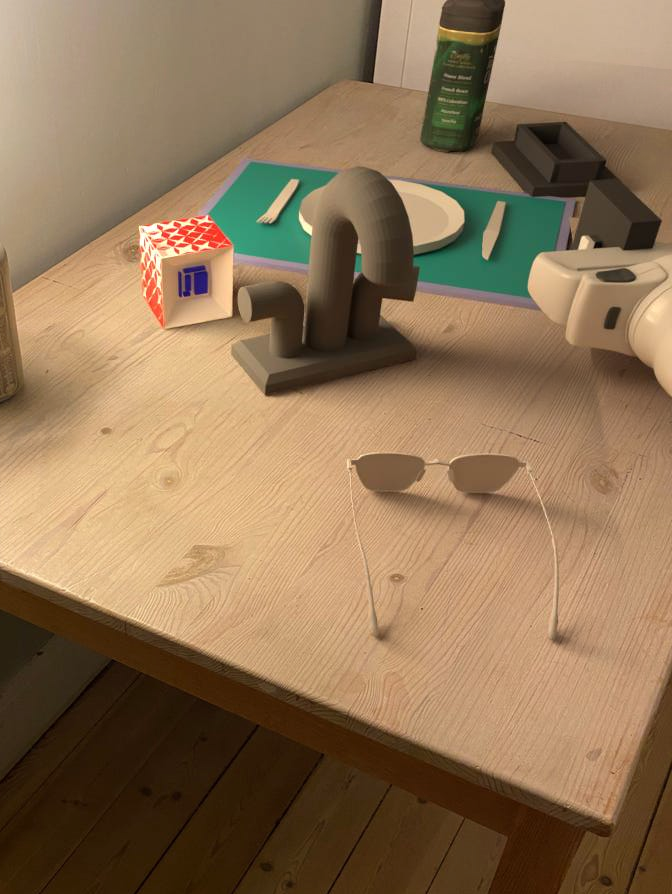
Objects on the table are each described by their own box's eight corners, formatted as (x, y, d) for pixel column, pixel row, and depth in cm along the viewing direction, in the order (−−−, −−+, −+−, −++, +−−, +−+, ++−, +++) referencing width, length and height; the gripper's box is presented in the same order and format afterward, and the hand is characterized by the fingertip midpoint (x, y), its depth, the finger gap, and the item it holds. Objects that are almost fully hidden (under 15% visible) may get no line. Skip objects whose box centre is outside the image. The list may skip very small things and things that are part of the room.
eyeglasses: (519, 491, 82) (530, 453, 79) (567, 643, 70) (583, 605, 67) (342, 488, 83) (347, 451, 80) (359, 639, 71) (365, 601, 68)
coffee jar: (468, 157, 133) (498, 3, 119) (413, 149, 135) (437, -4, 121) (483, 134, 139) (514, -16, 125) (431, 126, 141) (455, -22, 127)
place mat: (169, 254, 114) (168, 236, 112) (245, 163, 134) (245, 146, 132) (552, 313, 103) (557, 294, 102) (574, 205, 123) (579, 187, 121)
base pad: (619, 194, 124) (629, 162, 121) (530, 199, 123) (538, 167, 120) (572, 148, 135) (580, 117, 132) (490, 152, 134) (497, 122, 131)
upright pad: (629, 318, 96) (662, 220, 89) (600, 321, 96) (631, 222, 89) (590, 273, 103) (618, 178, 96) (563, 275, 103) (589, 180, 95)
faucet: (292, 437, 88) (310, 223, 73) (225, 355, 98) (229, 151, 83) (459, 395, 92) (506, 184, 78) (378, 320, 102) (407, 121, 88)
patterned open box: (208, 284, 108) (208, 215, 103) (232, 316, 103) (233, 245, 98) (141, 296, 107) (138, 226, 101) (162, 329, 102) (159, 258, 96)
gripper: (791, 266, 85) (716, 202, 94) (571, 282, 84) (518, 216, 93) (761, 330, 90) (693, 263, 99) (553, 346, 88) (503, 277, 98)
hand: (606, 240), depth 96 cm, fingers closed on upright pad, 3 cm apart
